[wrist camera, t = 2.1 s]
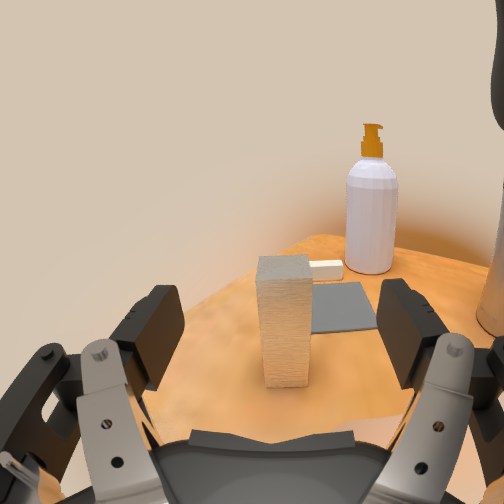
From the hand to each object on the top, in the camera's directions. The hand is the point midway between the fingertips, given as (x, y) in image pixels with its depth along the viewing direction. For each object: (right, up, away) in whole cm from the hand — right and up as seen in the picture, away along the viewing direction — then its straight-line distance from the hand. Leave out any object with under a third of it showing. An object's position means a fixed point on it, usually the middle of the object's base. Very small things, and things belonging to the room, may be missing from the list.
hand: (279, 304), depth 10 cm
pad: (+10, -5, +25) cm, 28 cm away
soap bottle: (+20, 0, +35) cm, 41 cm away
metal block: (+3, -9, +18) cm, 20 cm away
